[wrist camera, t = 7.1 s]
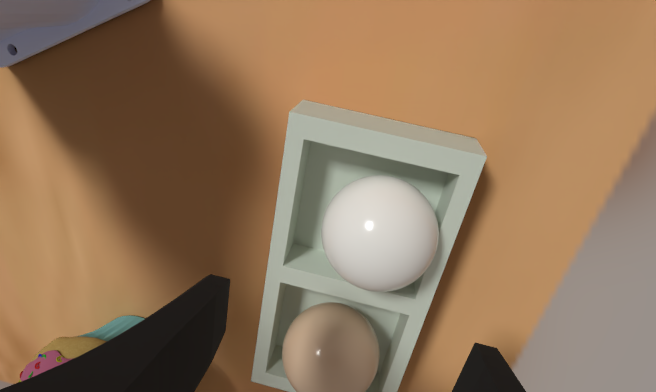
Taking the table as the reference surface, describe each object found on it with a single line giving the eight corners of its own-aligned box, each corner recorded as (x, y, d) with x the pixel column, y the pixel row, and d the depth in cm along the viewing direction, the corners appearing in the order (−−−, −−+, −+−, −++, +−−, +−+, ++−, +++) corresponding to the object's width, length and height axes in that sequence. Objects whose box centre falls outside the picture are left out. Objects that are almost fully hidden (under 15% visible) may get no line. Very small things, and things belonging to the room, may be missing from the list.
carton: (388, 382, 25) (386, 418, 23) (264, 348, 25) (250, 381, 23) (476, 138, 18) (486, 156, 16) (302, 99, 18) (289, 111, 16)
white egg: (334, 260, 21) (353, 334, 16) (299, 180, 18) (310, 242, 14) (425, 226, 21) (468, 291, 16) (401, 141, 18) (445, 190, 14)
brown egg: (312, 356, 24) (292, 434, 20) (282, 291, 23) (253, 359, 18) (392, 345, 23) (390, 426, 19) (366, 275, 21) (357, 345, 17)
